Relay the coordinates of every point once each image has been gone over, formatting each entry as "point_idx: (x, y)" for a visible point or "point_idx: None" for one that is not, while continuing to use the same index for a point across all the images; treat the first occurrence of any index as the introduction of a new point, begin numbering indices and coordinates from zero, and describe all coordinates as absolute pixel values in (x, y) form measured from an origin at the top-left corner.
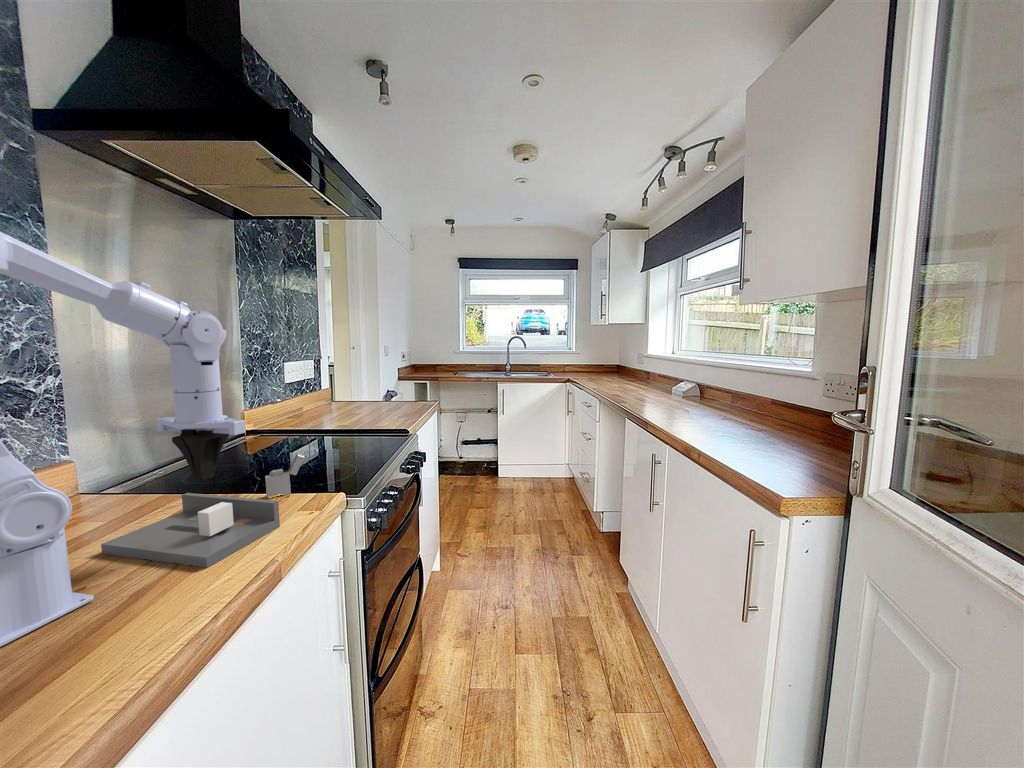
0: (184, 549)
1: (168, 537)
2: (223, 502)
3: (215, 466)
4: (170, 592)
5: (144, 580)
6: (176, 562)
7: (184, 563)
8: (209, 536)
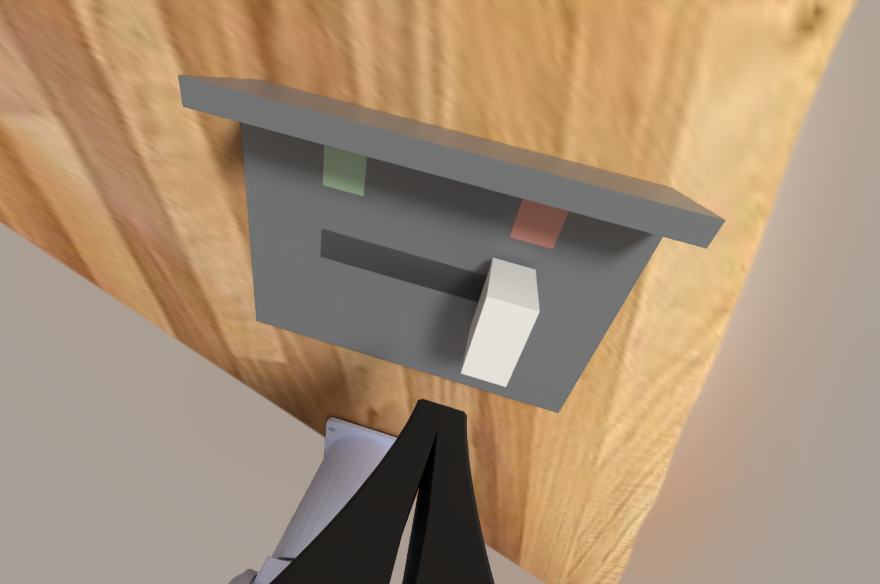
0: None
1: (383, 308)
2: (496, 300)
3: (467, 460)
4: (536, 448)
5: None
6: None
7: None
8: None
